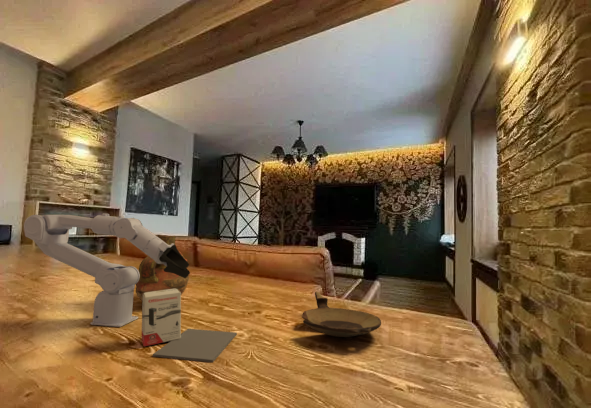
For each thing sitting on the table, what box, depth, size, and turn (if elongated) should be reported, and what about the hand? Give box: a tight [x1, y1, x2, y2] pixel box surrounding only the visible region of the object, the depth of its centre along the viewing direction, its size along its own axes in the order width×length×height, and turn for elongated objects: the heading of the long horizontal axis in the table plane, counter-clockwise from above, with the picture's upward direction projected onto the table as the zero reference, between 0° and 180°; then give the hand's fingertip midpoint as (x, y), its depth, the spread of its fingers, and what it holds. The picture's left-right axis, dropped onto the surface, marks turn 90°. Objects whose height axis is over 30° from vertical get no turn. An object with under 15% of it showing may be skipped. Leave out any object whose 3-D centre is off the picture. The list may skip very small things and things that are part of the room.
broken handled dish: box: [301, 290, 382, 338], centre depth 84 cm, size 22×30×8 cm
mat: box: [152, 328, 238, 363], centre depth 70 cm, size 14×16×1 cm
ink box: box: [141, 288, 182, 347], centre depth 72 cm, size 8×5×12 cm, turn 123°
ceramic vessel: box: [135, 234, 190, 302], centre depth 106 cm, size 17×26×25 cm, turn 172°
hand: (187, 271), depth 84 cm, fingers open, 7 cm apart
